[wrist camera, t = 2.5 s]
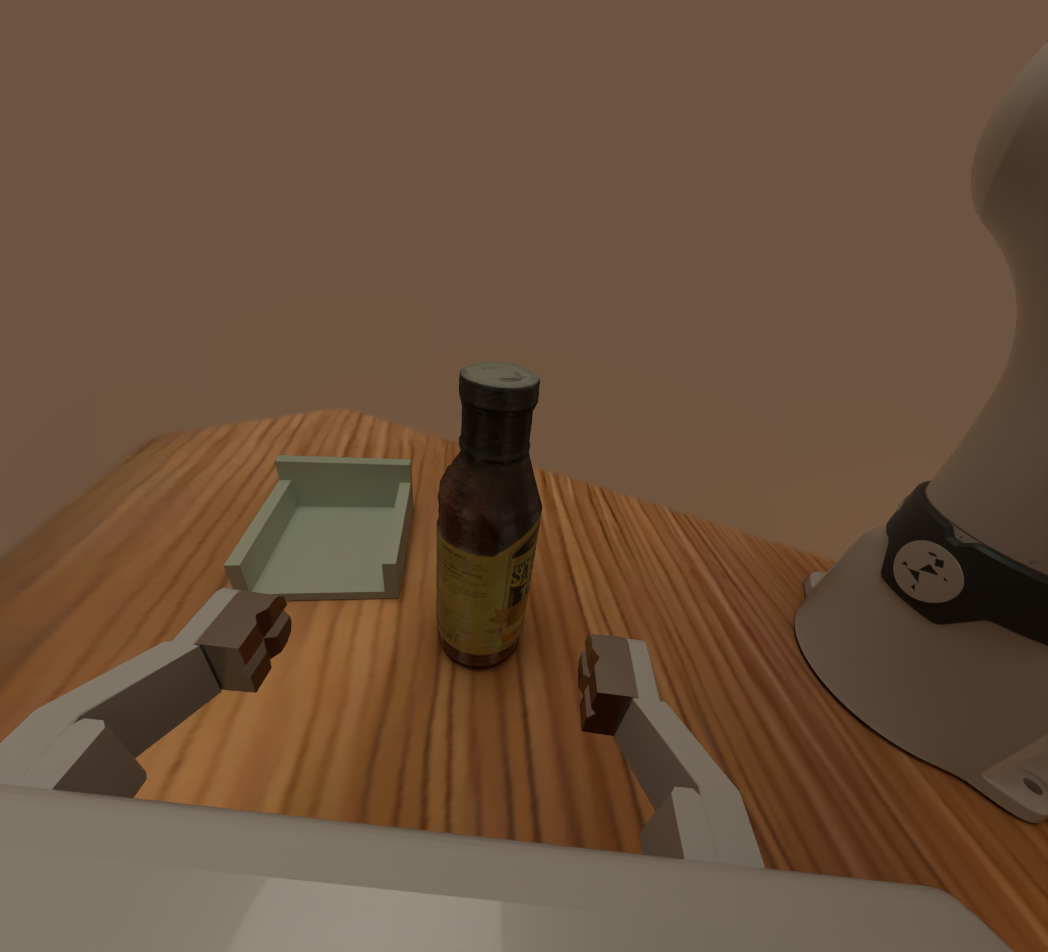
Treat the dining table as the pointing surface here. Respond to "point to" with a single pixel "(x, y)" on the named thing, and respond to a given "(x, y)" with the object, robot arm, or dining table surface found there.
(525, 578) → the sauce bottle
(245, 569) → the caddy
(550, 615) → the dining table surface
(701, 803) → the robot arm
